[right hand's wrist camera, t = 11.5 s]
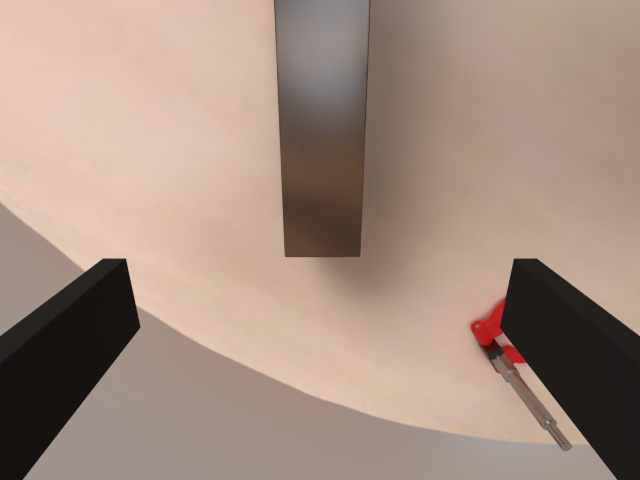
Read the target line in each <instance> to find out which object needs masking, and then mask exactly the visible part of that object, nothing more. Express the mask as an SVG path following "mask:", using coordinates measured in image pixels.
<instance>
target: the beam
mask: <svg viewBox="0 0 640 480" xmlns="http://www.w3.org/2000/svg"><path fill="white" fill-rule="evenodd" d="M274 11H275V35H276V58H277V82H278V106H279V130H280V154H281V177H282V201H283V225H284V249H285V257H360V250H361V225H362V200H363V175H364V150H365V125H366V100H367V75H368V50H369V25H370V0H274Z"/></svg>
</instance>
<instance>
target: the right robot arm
mask: <svg viewBox="0 0 640 480" xmlns="http://www.w3.org/2000/svg"><path fill="white" fill-rule="evenodd" d="M139 329H140V323H139V318H138V313H137V309H136V304H135V299H134V295H133V290H132V285H131V280H130V276H129V271H128V266H127V262H126V259H102V260H101V261H99V262H98V263H97V264H95V265H94V266H93V267H91V268H90V269H89V270H87V271H86V272H85V273H83V274H82V275H81V276H79V277H78V278H77V279H76V280H74V281H73V282H72V283H70V284H69V285H68V286H66V287H65V288H64V289H62V290H61V291H60V292H58V293H57V294H56V295H54V296H53V297H52V298H50V299H49V300H48V301H46V302H45V303H44V304H42V305H41V306H40V307H38V308H37V309H36V310H34V311H33V312H32V313H30V314H29V315H28V316H26V317H25V318H24V319H22V320H21V321H20V322H18V323H17V324H16V325H14V326H13V327H12V328H10V329H9V330H8V331H6V332H5V333H4V334H3V335H1V336H0V480H23V479H24V477H25V476H26V475H27V473H28V472H29V471H30V470H31V468H32V467H33V466H34V464H35V463H36V462H37V461H38V459H39V458H40V457H41V455H42V454H43V453H44V451H45V450H46V449H47V448H48V446H49V445H50V444H51V442H52V441H53V440H54V439H55V437H56V436H57V435H58V433H59V432H60V431H61V429H62V428H63V427H64V426H65V424H66V423H67V422H68V420H69V419H70V418H71V417H72V415H73V414H74V413H75V411H76V410H77V409H78V408H79V406H80V405H81V404H82V402H83V401H84V400H85V398H86V397H87V396H88V394H89V393H90V392H91V391H92V389H93V388H94V387H95V386H96V384H97V383H98V382H99V380H100V379H101V378H102V376H103V375H104V374H105V373H106V371H107V370H108V369H109V367H110V366H111V365H112V364H113V362H114V361H115V360H116V358H117V357H118V356H119V355H120V353H121V352H122V351H123V349H124V348H125V347H126V345H127V344H128V343H129V342H130V340H131V339H132V338H133V336H134V335H135V334H136V333H137V331H138V330H139ZM500 329H501V330H502V331H503V333H504V334H505V335H506V336H507V338H508V339H509V340H510V342H511V343H512V344H513V345H514V347H515V348H516V349H517V351H518V352H519V353H520V355H521V356H522V357H523V358H524V360H525V361H526V362H527V364H528V365H529V366H530V367H531V369H532V370H533V371H534V373H535V374H536V375H537V376H538V378H539V379H540V380H541V382H542V383H543V384H544V386H545V387H546V388H547V389H548V391H549V392H550V393H551V395H552V396H553V397H554V398H555V400H556V401H557V402H558V404H559V405H560V406H561V408H562V409H563V410H564V411H565V413H566V414H567V415H568V417H569V418H570V419H571V420H572V422H573V423H574V424H575V426H576V427H577V428H578V429H579V431H580V432H581V433H582V435H583V436H584V437H585V439H586V440H587V441H588V442H589V444H590V445H591V446H592V448H593V449H594V450H595V451H596V453H597V454H598V455H599V457H600V458H601V459H602V461H603V462H604V463H605V464H606V466H607V467H608V468H609V470H610V471H611V472H612V473H613V475H614V476H615V477H616V479H617V480H640V336H639V335H638V334H636V333H635V332H634V331H632V330H631V329H630V328H628V327H627V326H626V325H624V324H623V323H622V322H620V321H619V320H618V319H616V318H615V317H614V316H612V315H611V314H610V313H608V312H607V311H606V310H604V309H603V308H602V307H600V306H599V305H598V304H596V303H595V302H594V301H592V300H591V299H590V298H588V297H587V296H586V295H584V294H583V293H582V292H580V291H579V290H578V289H576V288H575V287H574V286H572V285H571V284H570V283H568V282H567V281H566V280H564V279H563V278H562V277H561V276H559V275H558V274H557V273H555V272H554V271H553V270H551V269H550V268H549V267H547V266H546V265H545V264H543V263H542V262H541V261H539V260H538V259H514V262H513V266H512V271H511V276H510V280H509V285H508V290H507V295H506V299H505V304H504V309H503V313H502V318H501V323H500Z"/></svg>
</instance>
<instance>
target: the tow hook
mask: <svg viewBox="0 0 640 480" xmlns="http://www.w3.org/2000/svg"><path fill="white" fill-rule="evenodd" d="M504 304H505V301H503V302H502V303H501V304H500V305H499V306H498V307H497V308H496V309H495V310H494V312H493V313H492V315H491V316H490V318H489V319H487V320H485V321H483V322H482V321H476V322H474V323H473V324H472V325H471V329H472V331H473V333H474V334H475V336H476V338H477V340H478V341H479V345H480V347H481V348H482V350H483V352H484V353H485V355H486V357H487V358H488V360H489V361H490V362H491V364H492V365H493V367H494V369H495V371H496V372H497V373H500V374H501V375H502V377H503V378H504V379H505V381H506V382H509V383H510V385H511V386H512V387H513V389H514V390H515V391H516V393H517V394H518V395H519V397H520V398H521V399H522V401H523V402H524V404H525V405H526V406H527V408H528V409H529V410H530V412H531V413H532V414H533V416H534V417H535V418H536V420H537V421H538V422H539V424H540V425H541V426H542V428H543V429H544V430H548V431H549V433H550V434H551V435H552V437H553V438H554V439H555V441H556V442H557V443H558V445H559V446H560V447H561V449H562V450H563V451H568V450H570V449H571V447H572V445H571V444H570V442H569V441H568V440H567V439H566V437H565V436H564V435H563V433H562V432H561V431H560V430H559V428H558V427H557V426H556V424H557V422H556V420H555V419H554V418H553V417H552V415H551V414H550V413H549V412H548V410H547V409H546V408H545V407H544V405H543V404H542V403H541V402H540V400H539V399H538V398H537V397H536V395H535V394H534V393H533V392H532V390H531V389H530V388H529V387H528V385H527V384H526V383H525V382H524V380H523V379H522V378H521V377H520V373H519V372H518V370H517V369H516V367H515V366H514V365H513V363H527V362H526V361H525V360H524V358H523V357H522V356H521V355H520V353H519V352H518V351H517V349H516V348H514V347H511V346H506V347H504V348H501V347H500V345H499V344H498V343H497V342H496V340H495V339H494V338H495V337H497V336H499V335H501V334H502V333H503V331H502V330H501V329H500V323H501V318H502V313H503V309H504Z"/></svg>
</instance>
